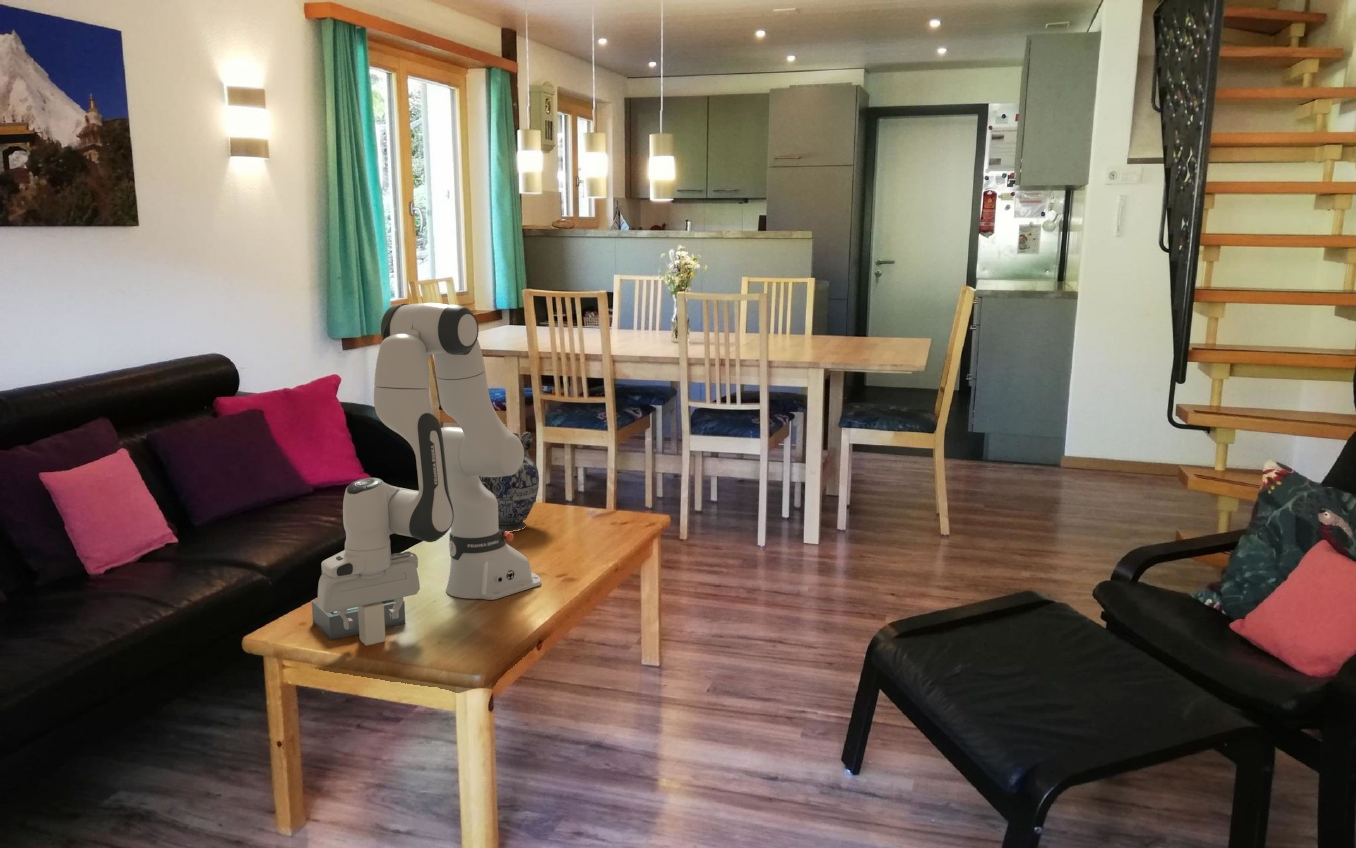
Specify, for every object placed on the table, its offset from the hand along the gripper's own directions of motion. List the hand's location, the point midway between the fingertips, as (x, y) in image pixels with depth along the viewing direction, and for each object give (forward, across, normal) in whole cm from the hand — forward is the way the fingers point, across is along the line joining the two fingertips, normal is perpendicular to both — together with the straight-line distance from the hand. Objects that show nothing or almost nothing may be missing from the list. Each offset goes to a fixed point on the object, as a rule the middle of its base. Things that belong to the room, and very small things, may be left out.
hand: (371, 623), depth 197 cm
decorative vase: (+4, -62, -60) cm, 86 cm away
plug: (+4, 0, 0) cm, 4 cm away
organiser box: (+4, -1, -11) cm, 12 cm away
